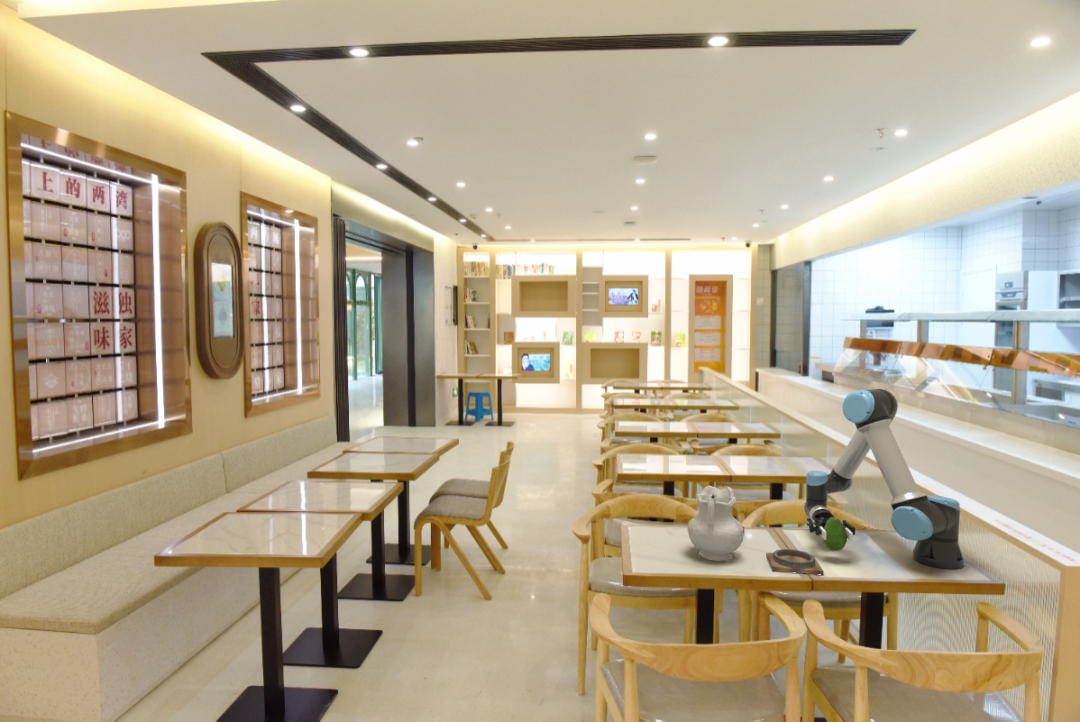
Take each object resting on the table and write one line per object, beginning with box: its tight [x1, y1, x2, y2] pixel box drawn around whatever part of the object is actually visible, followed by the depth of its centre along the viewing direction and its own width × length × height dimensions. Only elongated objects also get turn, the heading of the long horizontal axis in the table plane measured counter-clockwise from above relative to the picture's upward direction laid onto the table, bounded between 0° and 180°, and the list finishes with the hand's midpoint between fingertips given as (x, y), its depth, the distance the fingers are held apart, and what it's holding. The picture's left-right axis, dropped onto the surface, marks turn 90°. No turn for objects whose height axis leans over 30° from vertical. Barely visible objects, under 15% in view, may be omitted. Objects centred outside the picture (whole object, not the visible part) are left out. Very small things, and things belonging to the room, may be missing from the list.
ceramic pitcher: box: [687, 485, 745, 562], centre depth 221 cm, size 22×20×25 cm
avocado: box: [822, 516, 848, 552], centre depth 218 cm, size 8×8×12 cm
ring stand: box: [765, 548, 825, 576], centre depth 214 cm, size 16×14×4 cm
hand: (838, 536), depth 214 cm, fingers closed on avocado, 8 cm apart
